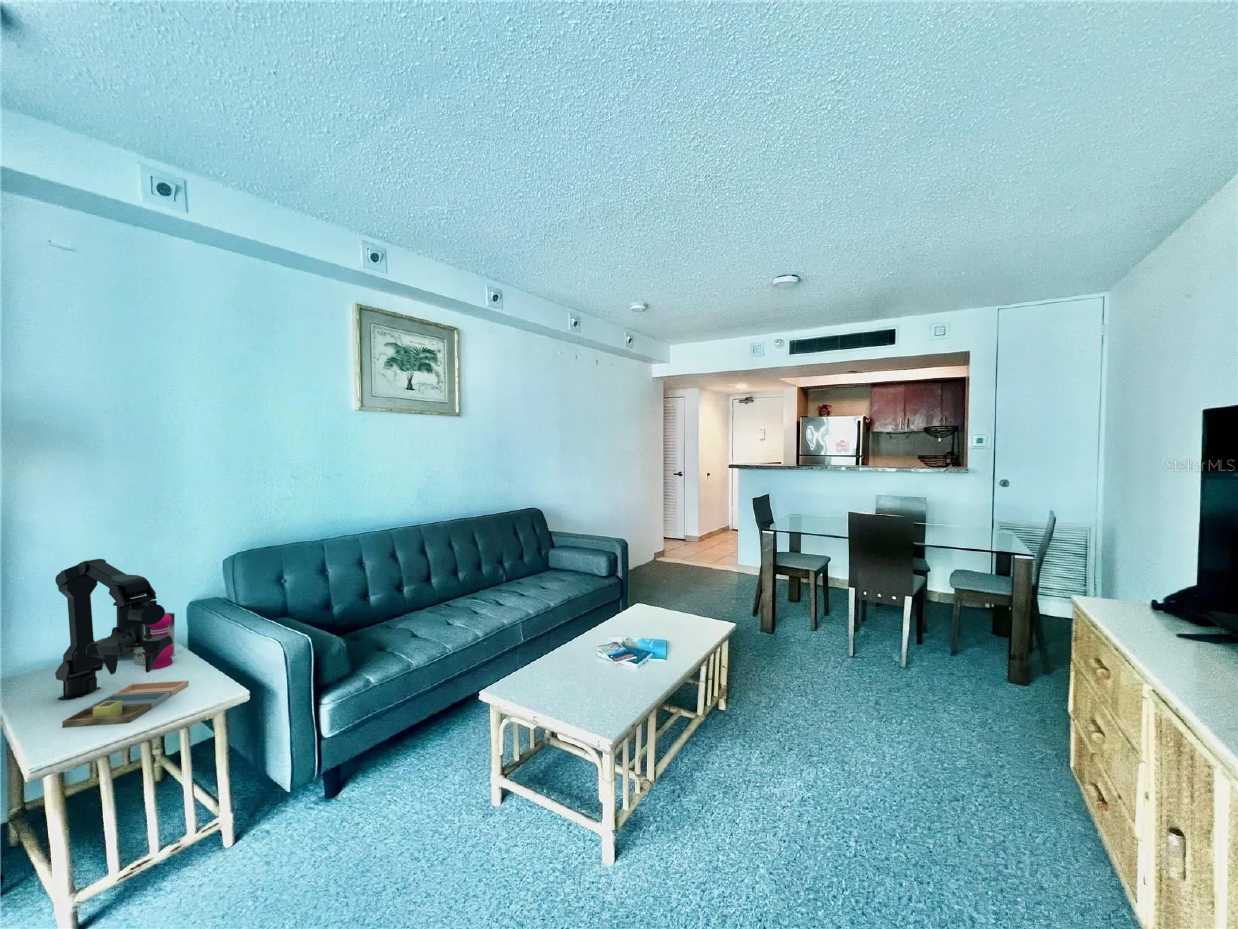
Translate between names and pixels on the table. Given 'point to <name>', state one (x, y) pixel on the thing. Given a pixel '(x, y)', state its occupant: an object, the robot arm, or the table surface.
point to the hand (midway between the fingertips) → (130, 673)
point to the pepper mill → (165, 655)
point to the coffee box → (138, 651)
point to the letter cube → (108, 709)
